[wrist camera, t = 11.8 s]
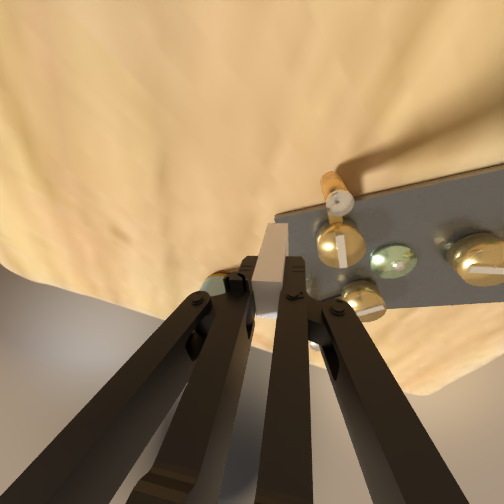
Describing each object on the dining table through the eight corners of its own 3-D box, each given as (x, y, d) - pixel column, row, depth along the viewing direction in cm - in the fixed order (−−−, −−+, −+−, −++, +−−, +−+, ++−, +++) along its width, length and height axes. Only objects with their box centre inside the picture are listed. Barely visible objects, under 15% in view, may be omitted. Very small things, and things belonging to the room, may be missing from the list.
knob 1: (360, 250, 26) (376, 286, 21) (319, 256, 28) (324, 291, 22) (355, 164, 21) (374, 183, 16) (304, 178, 23) (306, 199, 17)
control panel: (301, 308, 36) (301, 318, 34) (275, 215, 27) (273, 221, 26) (499, 294, 28) (511, 306, 26) (553, 152, 19) (577, 157, 17)
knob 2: (370, 275, 28) (387, 314, 23) (384, 298, 30) (403, 340, 24) (301, 300, 33) (301, 337, 28) (316, 319, 35) (320, 357, 29)
